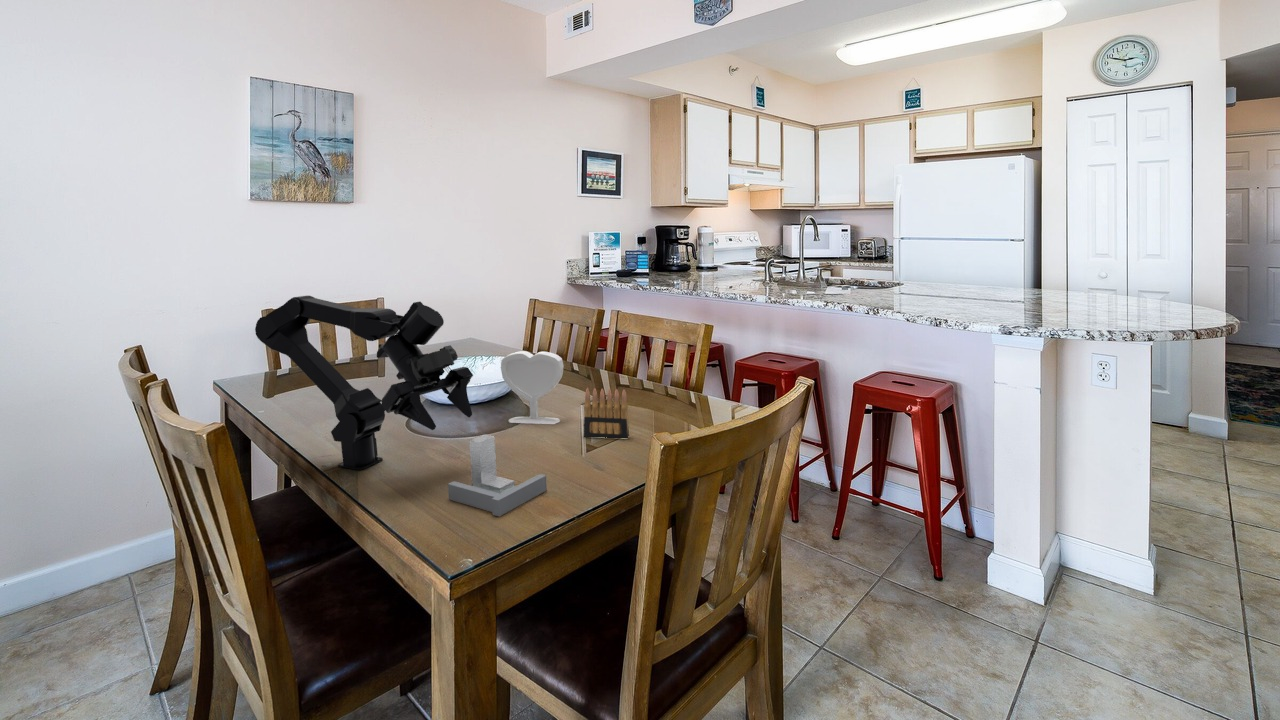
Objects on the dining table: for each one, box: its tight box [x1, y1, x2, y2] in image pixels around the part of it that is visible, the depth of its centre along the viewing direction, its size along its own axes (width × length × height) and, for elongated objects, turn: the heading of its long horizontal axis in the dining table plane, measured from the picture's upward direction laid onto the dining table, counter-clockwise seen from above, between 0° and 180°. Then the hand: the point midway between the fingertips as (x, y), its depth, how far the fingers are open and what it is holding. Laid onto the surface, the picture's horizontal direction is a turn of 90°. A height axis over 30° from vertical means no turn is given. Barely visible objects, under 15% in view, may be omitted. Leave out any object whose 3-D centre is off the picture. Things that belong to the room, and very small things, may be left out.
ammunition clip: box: [583, 387, 630, 439], centre depth 149 cm, size 11×2×12 cm, turn 81°
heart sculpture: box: [500, 350, 565, 425], centre depth 162 cm, size 16×5×18 cm, turn 83°
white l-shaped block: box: [469, 434, 516, 494], centre depth 118 cm, size 7×4×10 cm, turn 60°
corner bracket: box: [447, 473, 548, 517], centre depth 117 cm, size 13×13×3 cm
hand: (453, 422), depth 122 cm, fingers open, 9 cm apart
